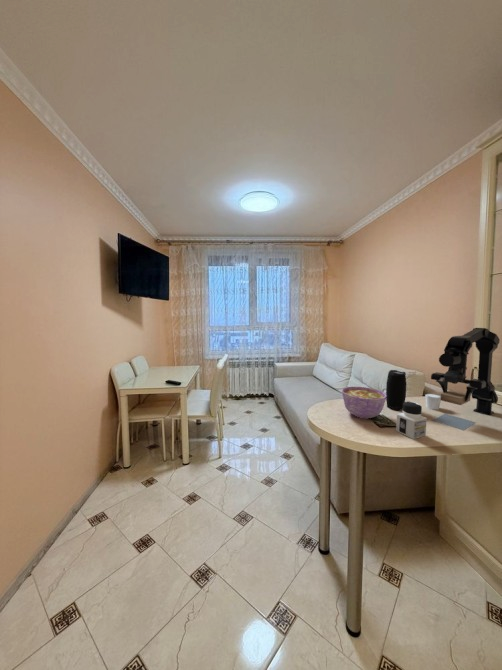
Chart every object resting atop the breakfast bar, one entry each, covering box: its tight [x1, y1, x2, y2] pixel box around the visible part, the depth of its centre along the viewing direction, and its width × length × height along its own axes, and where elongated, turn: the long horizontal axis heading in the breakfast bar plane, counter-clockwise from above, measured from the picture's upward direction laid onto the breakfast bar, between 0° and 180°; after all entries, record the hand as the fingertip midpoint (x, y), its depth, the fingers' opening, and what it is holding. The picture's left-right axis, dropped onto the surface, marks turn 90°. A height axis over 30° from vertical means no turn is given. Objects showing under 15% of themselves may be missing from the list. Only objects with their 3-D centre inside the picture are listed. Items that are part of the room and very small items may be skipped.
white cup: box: [424, 393, 441, 411], centre depth 133 cm, size 7×7×7 cm
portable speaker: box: [385, 369, 407, 411], centre depth 133 cm, size 9×9×20 cm
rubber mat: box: [431, 413, 477, 431], centre depth 116 cm, size 15×12×1 cm
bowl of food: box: [341, 386, 387, 419], centre depth 123 cm, size 20×20×12 cm
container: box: [395, 401, 428, 440], centre depth 104 cm, size 8×8×13 cm
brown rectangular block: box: [440, 389, 472, 406], centre depth 115 cm, size 11×7×3 cm
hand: (455, 398), depth 115 cm, fingers closed on brown rectangular block, 7 cm apart
